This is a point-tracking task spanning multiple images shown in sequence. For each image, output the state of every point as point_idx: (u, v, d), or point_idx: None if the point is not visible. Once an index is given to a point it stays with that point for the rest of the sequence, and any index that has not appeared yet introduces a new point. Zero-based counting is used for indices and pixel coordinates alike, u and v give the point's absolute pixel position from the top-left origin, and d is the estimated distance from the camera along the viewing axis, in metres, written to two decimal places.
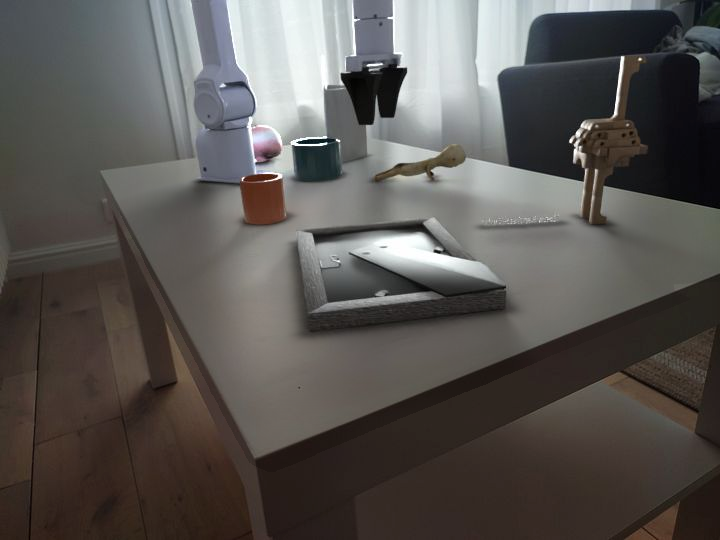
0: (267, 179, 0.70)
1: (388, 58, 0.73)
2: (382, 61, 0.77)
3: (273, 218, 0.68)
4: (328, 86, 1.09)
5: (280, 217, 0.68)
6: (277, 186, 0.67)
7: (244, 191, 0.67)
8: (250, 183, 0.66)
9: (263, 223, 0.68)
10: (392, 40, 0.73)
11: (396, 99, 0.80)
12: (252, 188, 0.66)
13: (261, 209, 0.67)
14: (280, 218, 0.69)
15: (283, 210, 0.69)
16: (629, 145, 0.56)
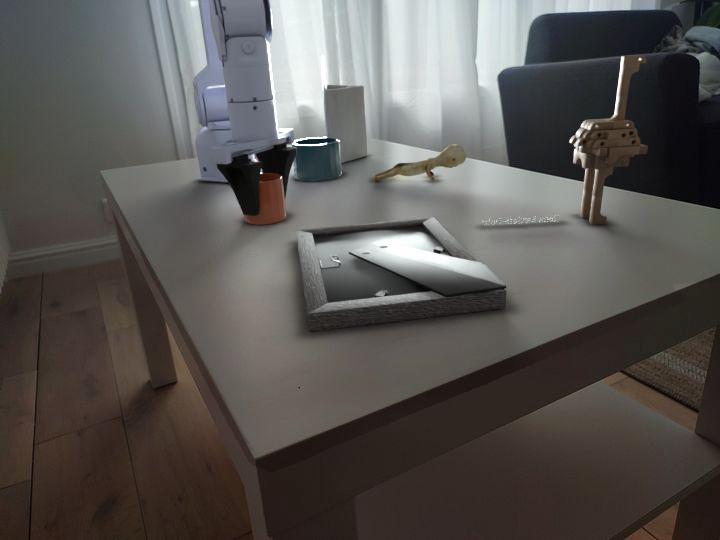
0: (267, 179, 0.70)
1: (267, 144, 0.64)
2: None
3: (273, 218, 0.68)
4: (328, 86, 1.09)
5: (280, 217, 0.68)
6: (277, 186, 0.67)
7: None
8: None
9: (263, 223, 0.68)
10: (272, 123, 0.64)
11: (285, 183, 0.71)
12: None
13: (261, 209, 0.67)
14: (281, 218, 0.69)
15: (283, 210, 0.69)
16: (629, 145, 0.56)
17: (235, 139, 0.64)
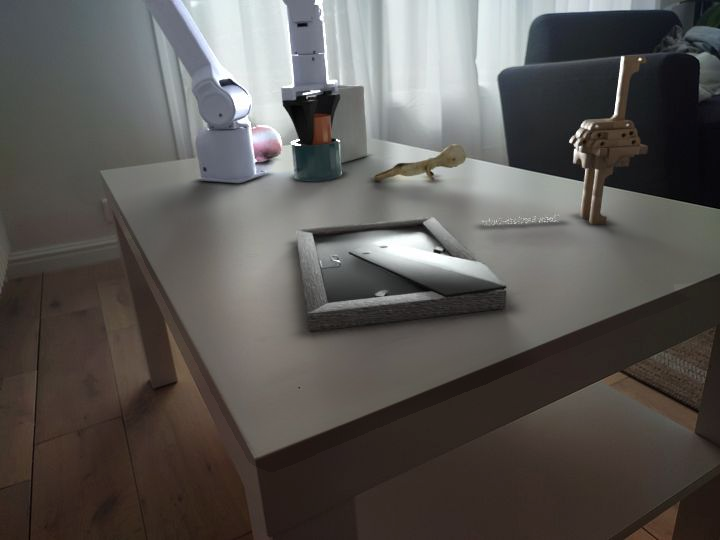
0: None
1: (321, 87, 0.84)
2: (318, 89, 0.88)
3: None
4: None
5: None
6: (327, 121, 0.87)
7: None
8: None
9: None
10: (324, 72, 0.84)
11: (331, 122, 0.91)
12: None
13: (315, 139, 0.87)
14: None
15: (331, 141, 0.89)
16: (629, 145, 0.56)
17: (296, 84, 0.85)
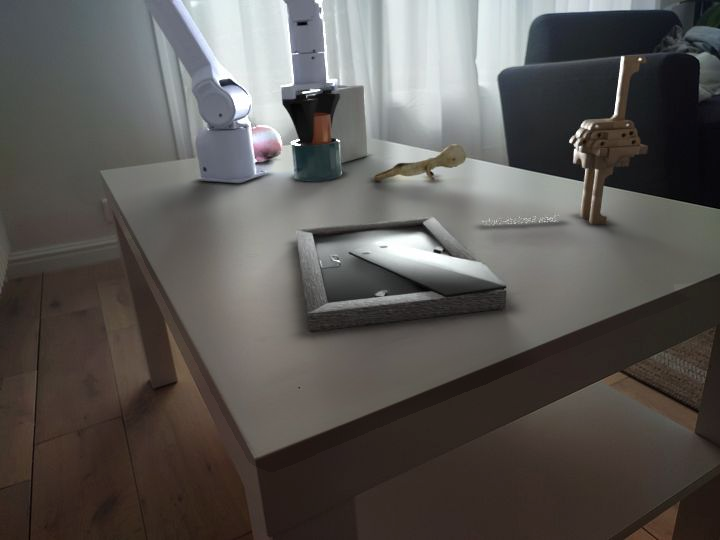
0: None
1: (320, 86, 0.84)
2: (318, 88, 0.88)
3: None
4: None
5: None
6: (327, 120, 0.87)
7: None
8: None
9: None
10: (324, 71, 0.84)
11: (331, 121, 0.91)
12: None
13: (314, 138, 0.87)
14: None
15: (330, 140, 0.89)
16: (629, 145, 0.56)
17: (296, 83, 0.85)
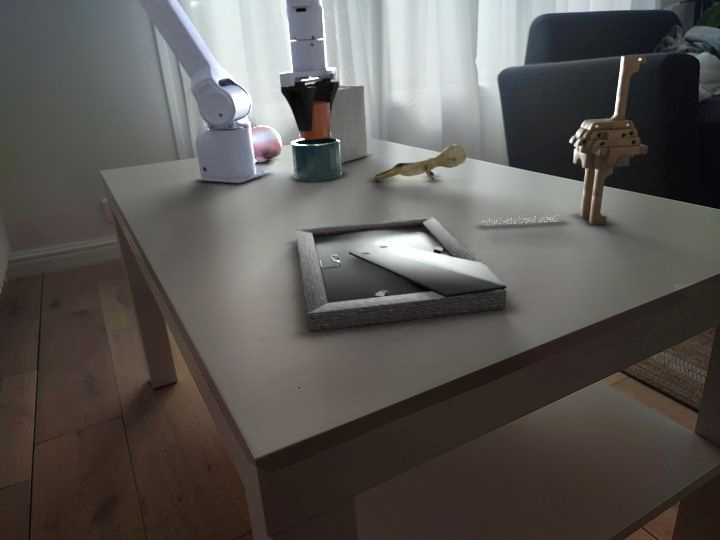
0: None
1: (320, 74, 0.84)
2: (317, 76, 0.88)
3: (322, 134, 0.87)
4: None
5: (328, 134, 0.88)
6: (326, 109, 0.87)
7: None
8: None
9: (315, 138, 0.87)
10: (323, 58, 0.84)
11: (330, 109, 0.90)
12: None
13: (314, 126, 0.86)
14: (328, 135, 0.88)
15: (330, 129, 0.88)
16: (629, 145, 0.56)
17: (295, 70, 0.84)
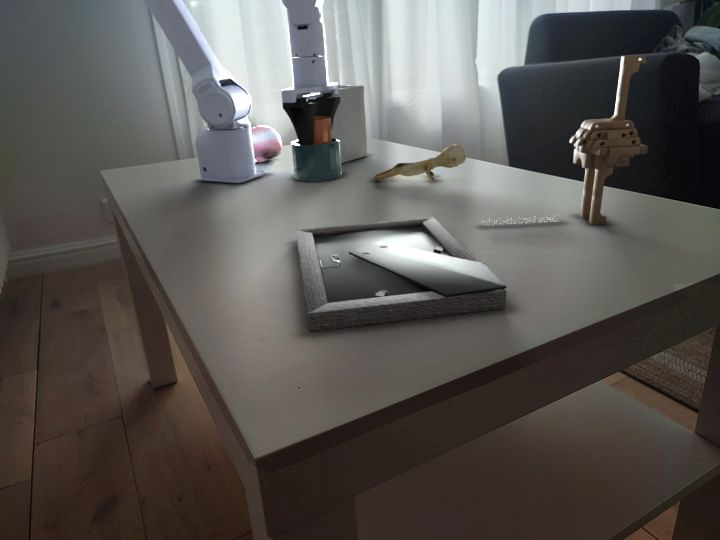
0: None
1: (321, 90, 0.84)
2: None
3: None
4: None
5: None
6: (327, 124, 0.87)
7: None
8: None
9: None
10: (324, 74, 0.85)
11: (331, 124, 0.91)
12: None
13: (315, 141, 0.87)
14: None
15: None
16: (629, 145, 0.56)
17: (296, 86, 0.85)
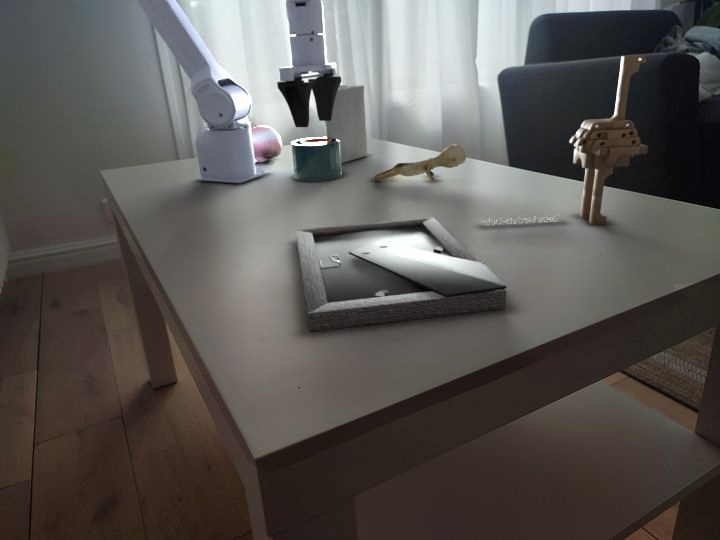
0: None
1: (319, 69, 0.83)
2: (317, 71, 0.87)
3: None
4: None
5: None
6: None
7: None
8: (310, 143, 0.88)
9: None
10: (323, 53, 0.83)
11: (332, 104, 0.90)
12: None
13: None
14: None
15: None
16: (629, 145, 0.56)
17: (294, 65, 0.84)
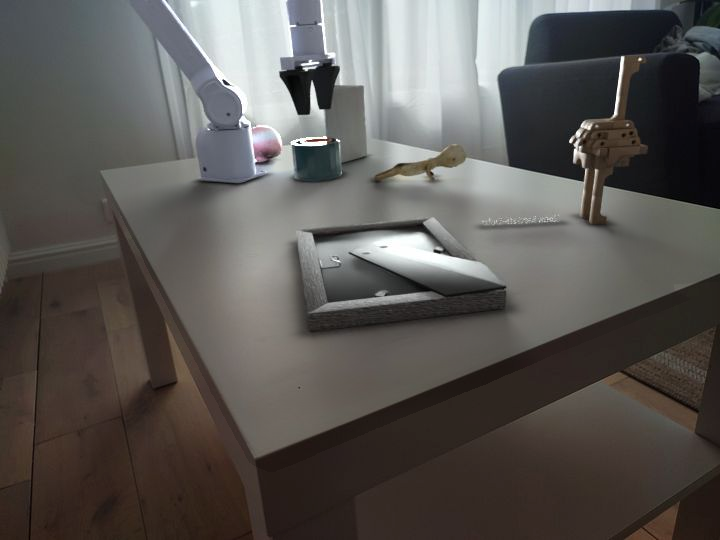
0: None
1: (319, 58, 0.86)
2: (317, 60, 0.90)
3: None
4: None
5: None
6: None
7: None
8: (310, 143, 0.88)
9: None
10: (322, 42, 0.86)
11: (331, 93, 0.93)
12: None
13: None
14: None
15: None
16: (629, 145, 0.56)
17: (295, 55, 0.86)
